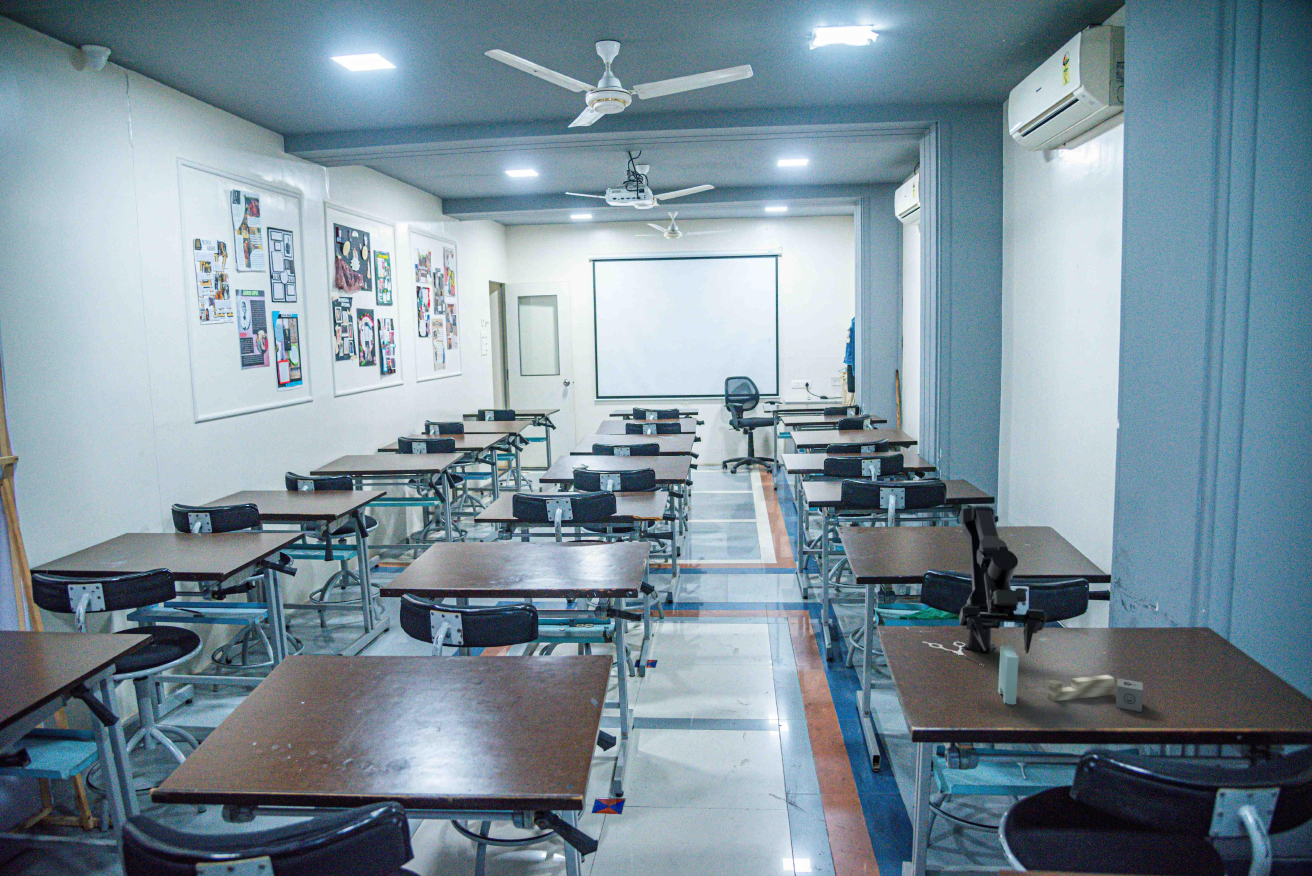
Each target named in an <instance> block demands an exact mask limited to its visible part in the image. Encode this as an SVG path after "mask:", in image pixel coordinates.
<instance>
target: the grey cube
mask: <svg viewBox="0 0 1312 876" xmlns="http://www.w3.org/2000/svg"><path fill="white" fill-rule="evenodd" d="M1143 695H1144V685H1143V682H1141V681H1135V680H1129V679H1122V678H1117V682H1116V696H1115V697H1116V698H1115V708H1117V709H1118V708H1119V709H1124V710H1130V711H1135V712H1142V709H1143Z"/></svg>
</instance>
